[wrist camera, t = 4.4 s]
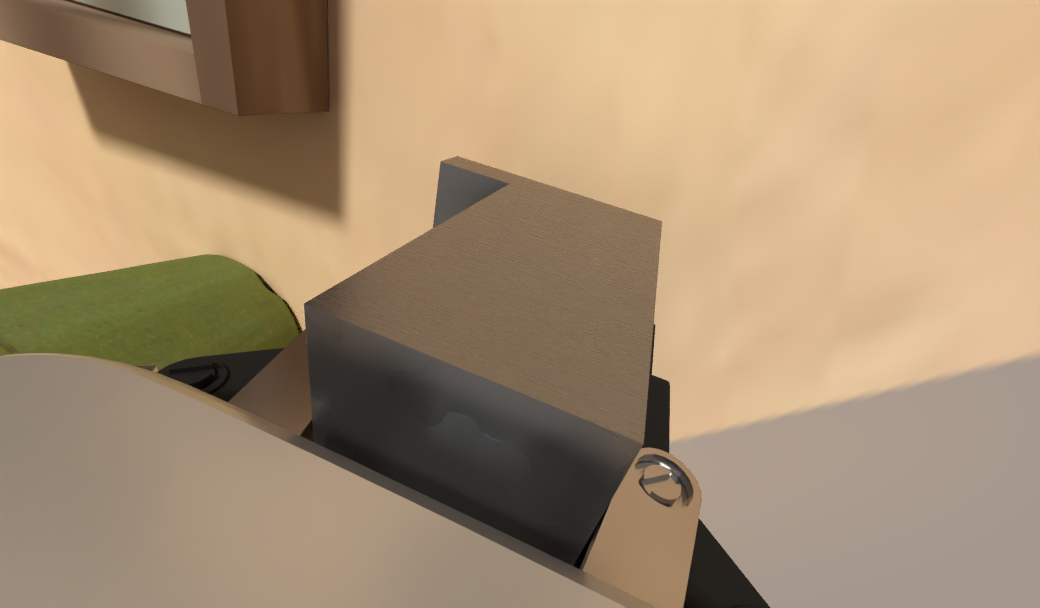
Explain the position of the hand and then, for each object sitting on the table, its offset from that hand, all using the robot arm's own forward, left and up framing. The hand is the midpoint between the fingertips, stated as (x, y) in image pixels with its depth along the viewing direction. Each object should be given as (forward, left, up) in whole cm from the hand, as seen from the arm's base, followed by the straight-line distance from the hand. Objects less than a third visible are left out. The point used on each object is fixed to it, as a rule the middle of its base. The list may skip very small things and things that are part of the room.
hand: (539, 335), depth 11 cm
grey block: (0, 0, -2) cm, 2 cm away
